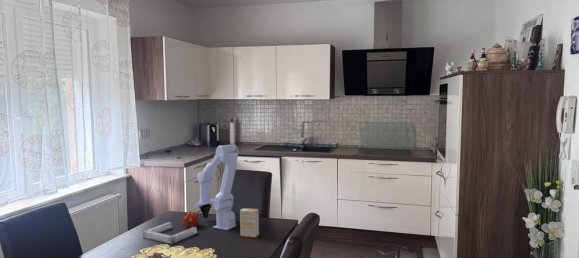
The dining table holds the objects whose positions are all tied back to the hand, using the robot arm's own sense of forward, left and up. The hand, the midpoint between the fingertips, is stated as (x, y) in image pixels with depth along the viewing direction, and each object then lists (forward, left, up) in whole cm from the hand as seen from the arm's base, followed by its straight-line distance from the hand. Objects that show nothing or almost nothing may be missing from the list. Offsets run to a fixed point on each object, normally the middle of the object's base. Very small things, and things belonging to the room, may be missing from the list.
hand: (205, 217), depth 213 cm
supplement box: (-35, +8, -2) cm, 36 cm away
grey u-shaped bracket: (0, +25, -2) cm, 25 cm away
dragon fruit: (0, +11, -2) cm, 12 cm away
